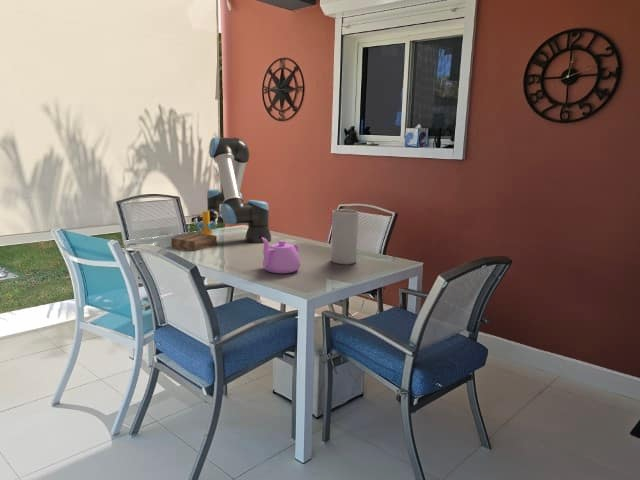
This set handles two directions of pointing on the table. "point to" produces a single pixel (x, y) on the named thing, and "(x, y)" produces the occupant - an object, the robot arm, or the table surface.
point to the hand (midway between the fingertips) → (205, 222)
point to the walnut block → (194, 241)
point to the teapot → (280, 257)
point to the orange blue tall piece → (206, 224)
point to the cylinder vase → (344, 236)
